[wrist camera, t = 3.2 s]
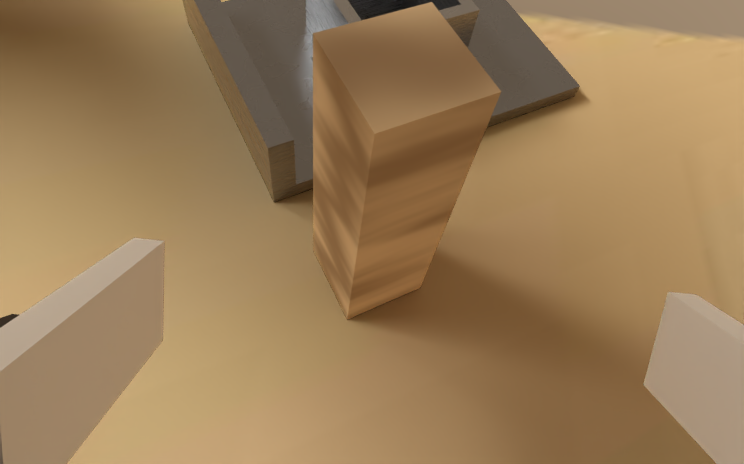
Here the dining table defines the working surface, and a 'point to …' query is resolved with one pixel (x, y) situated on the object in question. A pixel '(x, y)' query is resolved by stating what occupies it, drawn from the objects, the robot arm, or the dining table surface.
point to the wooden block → (390, 148)
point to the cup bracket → (295, 68)
